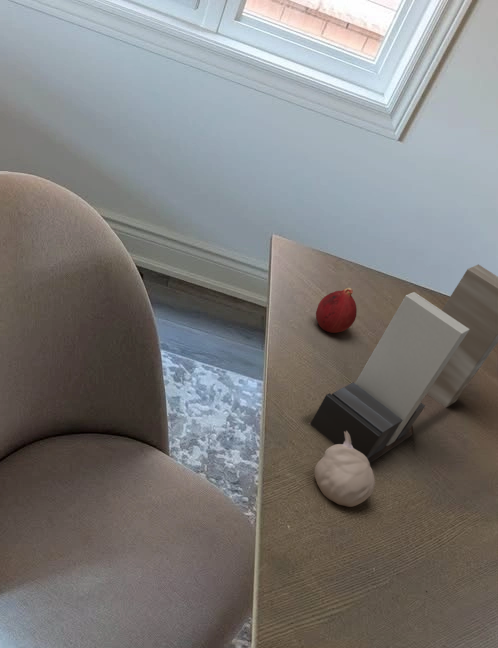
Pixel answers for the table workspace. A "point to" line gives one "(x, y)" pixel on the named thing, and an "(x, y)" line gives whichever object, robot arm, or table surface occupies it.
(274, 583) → the table surface
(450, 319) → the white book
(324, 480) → the garlic bulb
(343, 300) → the red pomegranate
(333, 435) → the book rack
